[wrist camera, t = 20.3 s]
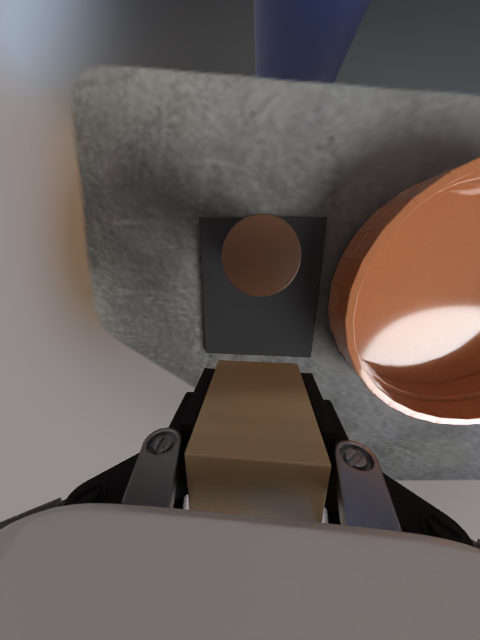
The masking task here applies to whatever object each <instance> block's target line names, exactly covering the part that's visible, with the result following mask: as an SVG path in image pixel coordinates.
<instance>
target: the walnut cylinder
mask: <svg viewBox="0 0 480 640" xmlns="http://www.w3.org/2000/svg"><path fill="white" fill-rule="evenodd" d="M221 259H222V266H223V269H224V272H225V274H226V276H227V278H228V280H229V281H230V282H231V283H232V285H233V286H234V287H236V288H237V289H238V290H240V291H241V292H243V293H245V294H248V295H251V296H258V297H262V296H269V295H273V294H275V293H278V292H280V291H281V290H283V289H284V288H285V287H287V286H288V285H289V284H290V283H291V281H292V280H293V279H294V277H295V276H296V274H297V272H298V269H299V266H300V262H301V246H300V242H299V239H298V237H297V235H296V233H295V231H294V230H293V229H292V227H291V226H290V225H289V224H288V223H287V222H285V221H284V220H282V219H281V218H279V217H276V216H274V215H269V214H255V215H251V216H248V217H246V218H244V219H242V220H240V221H239V222H238V223H236V224H235V225H234V226H233V227H232V229H231V230H230V231H229V233H228V234H227V236H226V238H225V240H224V243H223V246H222V254H221Z"/></svg>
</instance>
